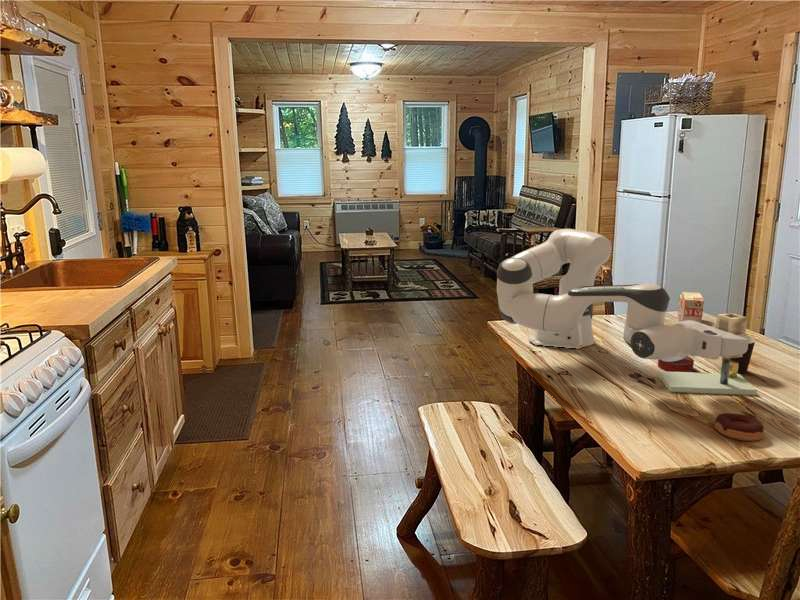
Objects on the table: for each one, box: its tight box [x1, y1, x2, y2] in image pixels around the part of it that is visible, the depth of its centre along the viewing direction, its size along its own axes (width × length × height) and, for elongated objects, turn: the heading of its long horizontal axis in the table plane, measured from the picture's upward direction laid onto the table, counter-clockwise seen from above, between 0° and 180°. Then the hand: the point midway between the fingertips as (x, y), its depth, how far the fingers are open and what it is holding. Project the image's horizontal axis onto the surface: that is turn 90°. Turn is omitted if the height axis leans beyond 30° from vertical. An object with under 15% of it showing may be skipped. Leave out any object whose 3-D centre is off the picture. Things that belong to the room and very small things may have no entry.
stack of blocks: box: [677, 291, 705, 323], centre depth 223 cm, size 21×6×12 cm, turn 159°
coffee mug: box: [721, 335, 756, 376], centre depth 176 cm, size 12×9×10 cm
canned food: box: [657, 356, 695, 372], centre depth 179 cm, size 11×10×10 cm
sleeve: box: [715, 312, 748, 359], centre depth 159 cm, size 5×5×11 cm
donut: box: [714, 412, 765, 442], centre depth 137 cm, size 10×10×4 cm
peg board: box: [657, 370, 758, 396], centre depth 165 cm, size 22×12×2 cm, turn 82°
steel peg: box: [720, 358, 731, 385], centre depth 162 cm, size 2×2×7 cm
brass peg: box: [729, 361, 739, 378], centre depth 167 cm, size 3×3×4 cm
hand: (732, 333), depth 159 cm, fingers closed on sleeve, 5 cm apart
